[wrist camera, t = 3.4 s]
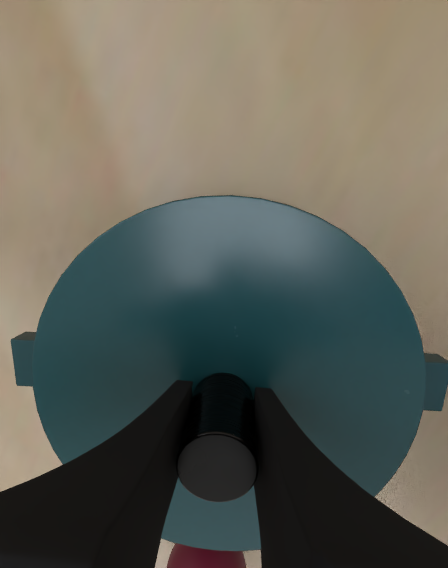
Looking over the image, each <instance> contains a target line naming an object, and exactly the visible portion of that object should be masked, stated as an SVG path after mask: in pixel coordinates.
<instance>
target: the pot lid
mask: <svg viewBox="0 0 448 568" xmlns="http://www.w3.org/2000/svg"><path fill="white" fill-rule="evenodd" d="M32 378H33V390H34V396H35V401H36V406H37V411H38V414H39V417H40V420H41V423H42V426H43V429H44V431H45V433H46V435H47V438H48V440H49V442H50V444H51V446H52V448H53V450H54V452H55V453H56V455H57V456H58V458H59V459H60V461H61V462H62V464H63V465H64V464H65V463H67V462H69V461H71V460H73V459H75V458H77V457H79V456H80V455H82V454H84V453H86V452H87V451H89V450H91V449H92V448H94V447H96V446H98V445H99V444H101V443H103V442H104V441H106V440H107V439H109V438H110V437H112V436H113V435H115V434H116V433H118V432H119V431H120V430H122V429H123V428H124V427H126V426H127V425H128V424H130V423H131V422H132V421H133V420H134V419H136V418H137V417H138V416H139V415H140V414H142V413H143V412H144V411H145V410H146V409H147V408H148V407H149V406H151V405H152V404H153V403H154V402H155V401H156V400H157V399H158V398H159V397H160V396H161V395H162V394H163V393H164V392H165V391H166V390H167V389H168V388H169V387H170V386H171V385H172V384H173V383H174V382H175V381H176V380H184V381H193V384H192V400H191V404H190V408H189V411H188V415H187V419H186V423H185V427H184V431H183V434H182V438H181V442H180V446H179V450H178V454H177V458H176V471H177V475H178V480H177V483H176V487H175V490H174V493H173V496H172V500H171V503H170V506H169V510H168V513H167V516H166V520H165V524H164V527H163V531H162V535H161V538H162V539H165V540H168V541H170V542H173V543H178V544H182V545H186V546H190V547H194V548H202V549H209V550H217V551H248V550H261V541H260V530H259V522H258V514H257V506H256V498H255V490H254V483H255V481H256V479H257V476H258V471H259V463H258V451H257V440H256V428H255V417H254V406H253V404H254V395H255V387H261V388H271V389H272V390H273V391H274V393H275V394H276V396H277V397H278V399H279V400H280V401H281V403H282V404H283V406H284V407H285V409H286V410H287V411H288V413H289V414H290V415H291V417H292V418H293V419H294V421H295V422H296V423H297V425H298V426H299V427H300V428H301V430H302V431H303V432H304V433H305V434H306V436H307V437H308V438H309V439H310V440H311V441H312V442H313V443H314V444H315V446H316V447H317V448H318V449H319V450H320V451H321V452H322V453H323V454H324V455H325V456H326V457H327V458H329V459H330V460H331V461H332V462H333V463H334V464H335V465H336V466H337V467H338V468H339V469H340V470H341V471H343V472H344V473H345V474H346V475H347V476H348V477H350V478H351V479H352V480H353V481H354V482H356V483H357V484H358V485H359V486H360V487H362V488H363V489H364V490H365V491H367V492H368V493H369V494H371V495H372V496H373V497H375V496H376V495H377V494H378V493H379V492H380V491H381V490H382V489H383V487H384V486H385V485H386V484H387V483H388V481H389V480H390V479H391V478H392V477H393V475H394V474H395V473H396V471H397V469H398V468H399V466H400V465H401V463H402V462H403V460H404V458H405V457H406V455H407V453H408V451H409V449H410V447H411V444H412V442H413V440H414V438H415V436H416V433H417V430H418V426H419V423H420V419H421V416H422V412H423V406H424V398H425V391H426V363H425V358H424V352H423V346H422V340H421V336H420V333H419V330H418V327H417V324H416V321H415V318H414V315H413V313H412V311H411V309H410V307H409V305H408V303H407V301H406V299H405V297H404V295H403V293H402V292H401V290H400V288H399V287H398V286H397V284H396V283H395V282H394V280H393V279H392V277H391V276H390V275H389V273H388V272H387V270H386V269H385V268H384V267H383V266H382V265H381V264H380V263H379V262H378V261H377V260H376V258H375V257H374V256H373V255H372V254H371V253H370V252H369V251H368V250H367V249H366V248H365V247H363V246H362V245H361V244H359V243H358V242H357V241H356V240H354V239H353V238H352V237H350V236H349V235H348V234H346V233H345V232H344V231H342V230H341V229H339V228H337V227H335V226H334V225H332V224H330V223H328V222H327V221H325V220H323V219H321V218H320V217H318V216H315V215H313V214H310V213H308V212H305V211H303V210H300V209H298V208H295V207H293V206H290V205H286V204H282V203H278V202H274V201H270V200H266V199H262V198H253V197H243V196H234V195H224V196H200V197H194V198H188V199H183V200H177V201H172V202H169V203H165V204H162V205H159V206H156V207H153V208H150V209H147V210H144V211H142V212H140V213H138V214H136V215H134V216H132V217H130V218H128V219H125V220H123V221H121V222H119V223H118V224H117V225H115V226H114V227H112V228H111V229H109V230H108V231H106V232H105V233H103V234H102V235H100V236H99V237H97V238H96V239H95V240H94V241H93V242H92V243H91V244H90V245H88V246H87V247H86V248H85V249H84V250H83V251H82V252H81V253H80V254H79V255H78V256H77V257H76V258H75V259H74V261H73V262H72V263H71V264H70V265H69V267H68V268H67V269H66V270H65V271H64V273H63V274H62V275H61V277H60V279H59V280H58V282H57V284H56V285H55V287H54V289H53V290H52V292H51V294H50V295H49V297H48V300H47V302H46V305H45V307H44V310H43V312H42V314H41V317H40V320H39V324H38V328H37V332H36V336H35V340H34V347H33V358H32Z"/></svg>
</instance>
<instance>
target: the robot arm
mask: <svg viewBox="0 0 448 568" xmlns="http://www.w3.org/2000/svg"><path fill="white" fill-rule="evenodd" d="M192 384H193V381H184V380H176V381H175V382H174V383H173V384H172V385H171V386H170V387H169V388H168V389H167V390H166V391H165V392H164V393H163V394H162V395H161V396H160V397H159V398H158V399H157V400H156V401H155V402H154V403H153V404H152V405H151V406H149V407H148V408H147V409H146V410H145V411H144V412H143V413H142V414H140V415H139V416H138V417H137V418H136V419H134V420H133V421H132V422H131V423H130V424H128V425H127V426H126V427H124V428H123V429H122V430H120V431H119V432H118V433H116V434H115V435H113V436H112V437H110V438H109V439H107V440H106V441H104V442H103V443H101V444H99V445H98V446H96V447H94V448H92V449H91V450H89V451H87V452H86V453H84V454H82V455H80V456H79V457H77V458H75V459H73V460H71V461H69V462H67V463H65V464H64V465H62V466H60V467H58V468H55V469H53V470H51V471H49V472H47V473H45V474H43V475H41V476H38V477H36V478H34V479H31V480H29V481H27V482H24V483H22V484H19V485H17V486H14V487H12V488H9V489H7V490H4V491H2V492H0V568H155V563H156V559H157V554H158V549H159V545H160V540H161V535H162V531H163V527H164V524H165V520H166V516H167V513H168V510H169V506H170V503H171V500H172V496H173V493H174V490H175V487H176V483H177V480H178V475H177V471H176V458H177V454H178V450H179V446H180V442H181V438H182V434H183V431H184V427H185V423H186V419H187V415H188V411H189V408H190V404H191V400H192ZM253 406H254V417H255V428H256V440H257V451H258V463H259V471H258V476H257V479H256V481H255V483H254V490H255V498H256V506H257V514H258V522H259V530H260V541H261V560H262V568H448V546H447V545H446V544H444V543H442V542H441V541H439V540H438V539H436V538H434V537H433V536H431V535H430V534H428V533H426V532H425V531H423V530H422V529H420V528H418V527H417V526H415V525H414V524H412V523H410V522H409V521H407V520H406V519H404V518H403V517H401V516H400V515H398V514H397V513H395V512H394V511H393V510H391V509H390V508H388V507H387V506H386V505H384V504H383V503H381V502H380V501H379V500H377V499H376V498H375V497H373V496H372V495H371V494H369V493H368V492H367V491H365V490H364V489H363V488H362V487H360V486H359V485H358V484H357V483H356V482H354V481H353V480H352V479H351V478H350V477H348V476H347V475H346V474H345V473H344V472H343V471H341V470H340V469H339V468H338V467H337V466H336V465H335V464H334V463H333V462H332V461H331V460H330V459H329V458H327V457H326V456H325V455H324V454H323V453H322V452H321V451H320V450H319V449H318V448H317V447H316V446H315V444H314V443H313V442H312V441H311V440H310V439H309V438H308V437H307V436H306V434H305V433H304V432H303V431H302V430H301V428H300V427H299V426H298V425H297V423H296V422H295V421H294V419H293V418H292V417H291V415H290V414H289V413H288V411H287V410H286V409H285V407H284V406H283V404H282V403H281V401H280V400H279V399H278V397H277V396H276V394H275V393H274V391H273V390H272V389H271V388H261V387H255V395H254V404H253Z"/></svg>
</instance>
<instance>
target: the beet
mask: <svg viewBox="0 0 448 568" xmlns="http://www.w3.org/2000/svg"><path fill="white" fill-rule="evenodd" d="M167 568H246V564H245V559H244V555H243V552H242V551H217V550H209V549H202V548H194V547H190V546H186V545H182V544H178V543H176V544H175V545H174V547H173V549H172V552H171V554H170V557H169V560H168V564H167Z"/></svg>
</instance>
